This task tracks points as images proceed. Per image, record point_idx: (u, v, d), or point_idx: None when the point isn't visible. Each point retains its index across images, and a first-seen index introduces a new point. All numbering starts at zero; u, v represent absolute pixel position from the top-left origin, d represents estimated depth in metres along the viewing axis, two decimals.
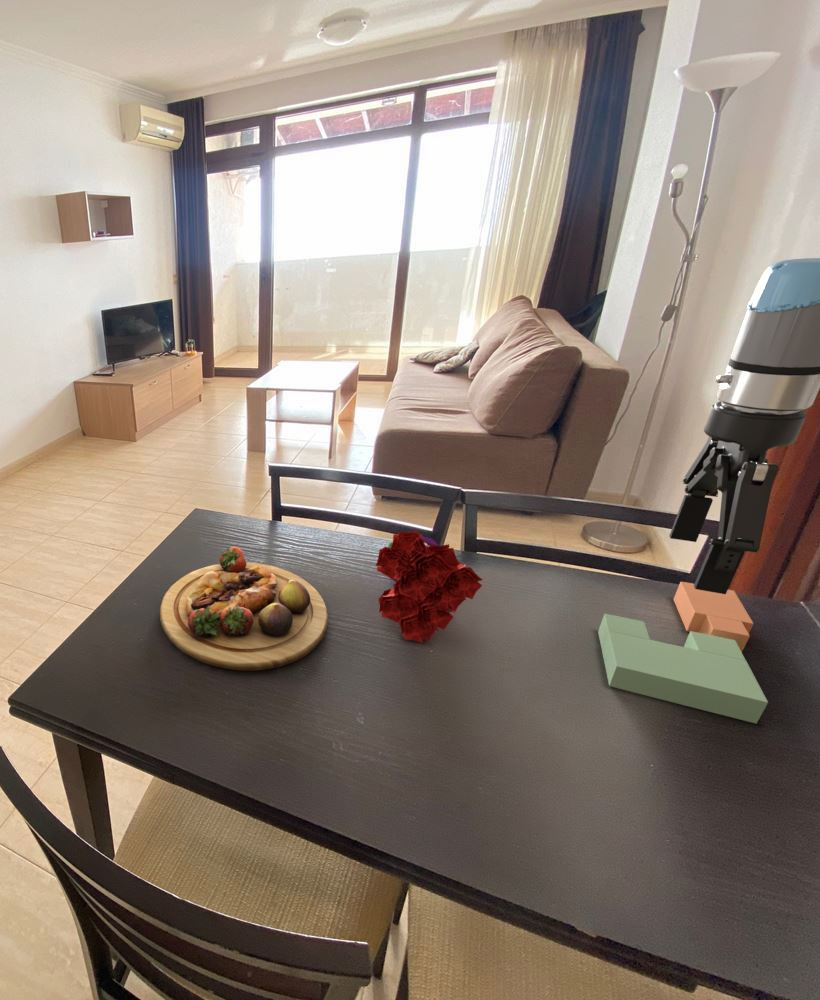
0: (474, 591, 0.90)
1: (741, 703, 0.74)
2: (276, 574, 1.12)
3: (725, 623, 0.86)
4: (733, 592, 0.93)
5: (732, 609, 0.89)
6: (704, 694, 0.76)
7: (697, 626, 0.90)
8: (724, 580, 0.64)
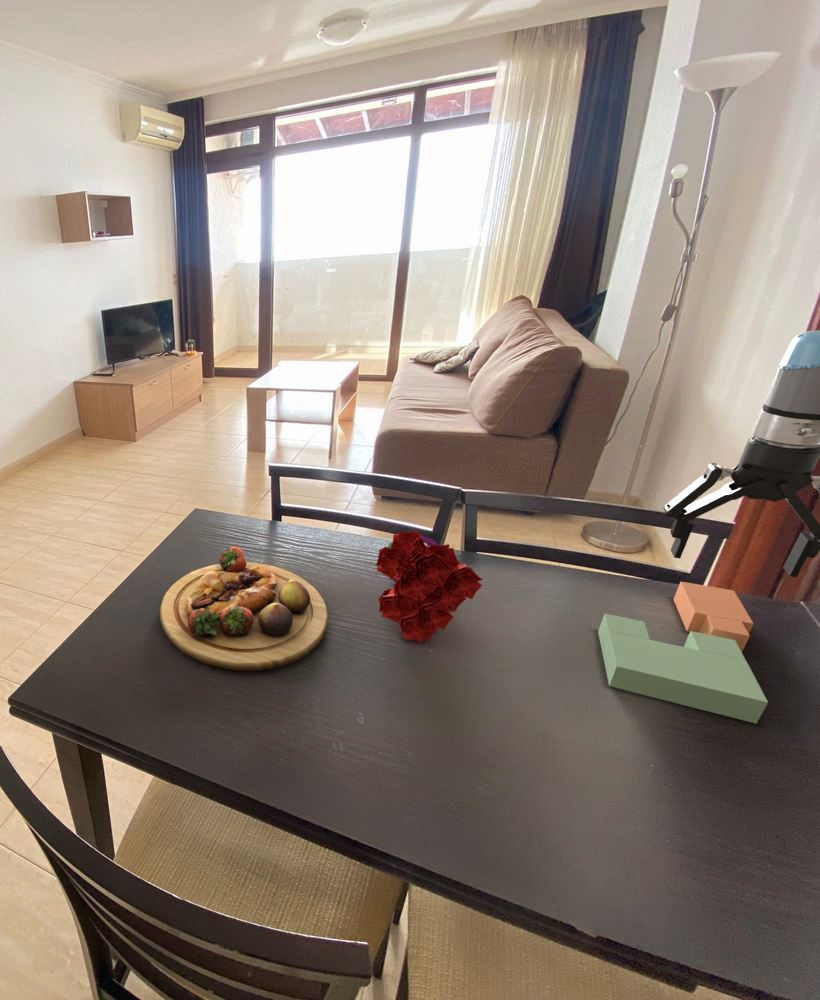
0: (474, 591, 0.90)
1: (741, 703, 0.74)
2: (276, 574, 1.12)
3: (725, 623, 0.86)
4: (733, 592, 0.93)
5: (732, 609, 0.89)
6: (704, 694, 0.76)
7: (697, 626, 0.90)
8: None
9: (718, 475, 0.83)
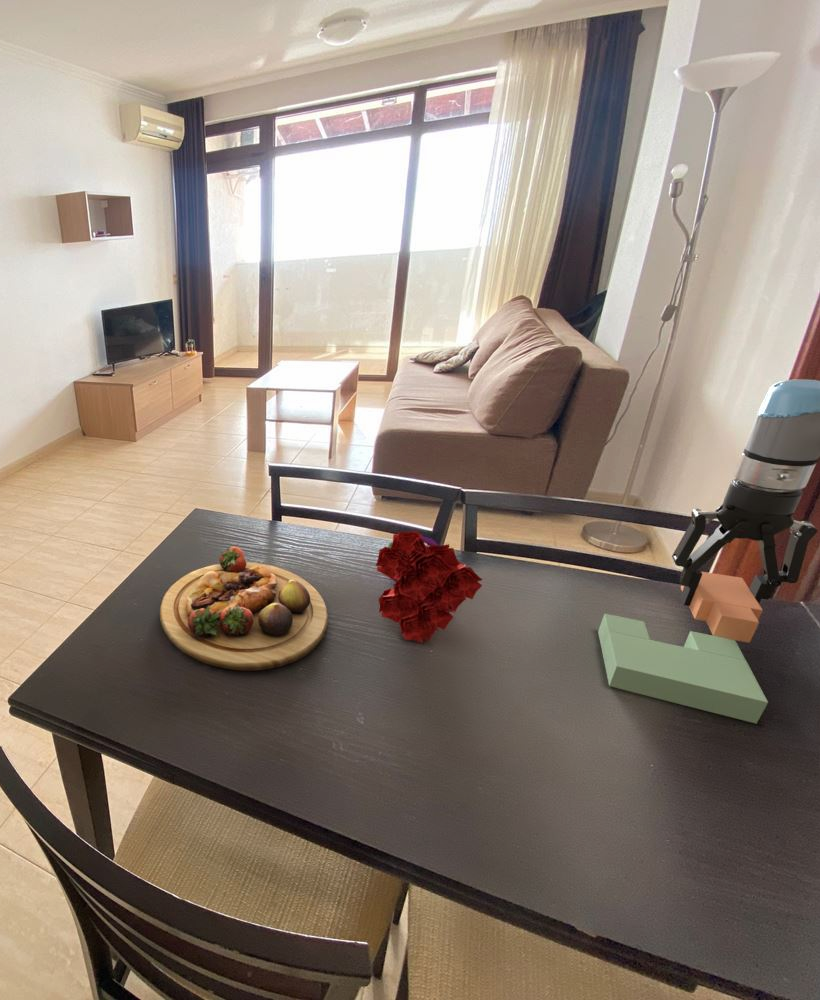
0: (474, 591, 0.90)
1: (741, 703, 0.74)
2: (276, 574, 1.12)
3: (734, 610, 0.85)
4: (741, 579, 0.92)
5: (741, 596, 0.88)
6: (704, 694, 0.76)
7: (705, 614, 0.89)
8: None
9: (703, 521, 0.87)
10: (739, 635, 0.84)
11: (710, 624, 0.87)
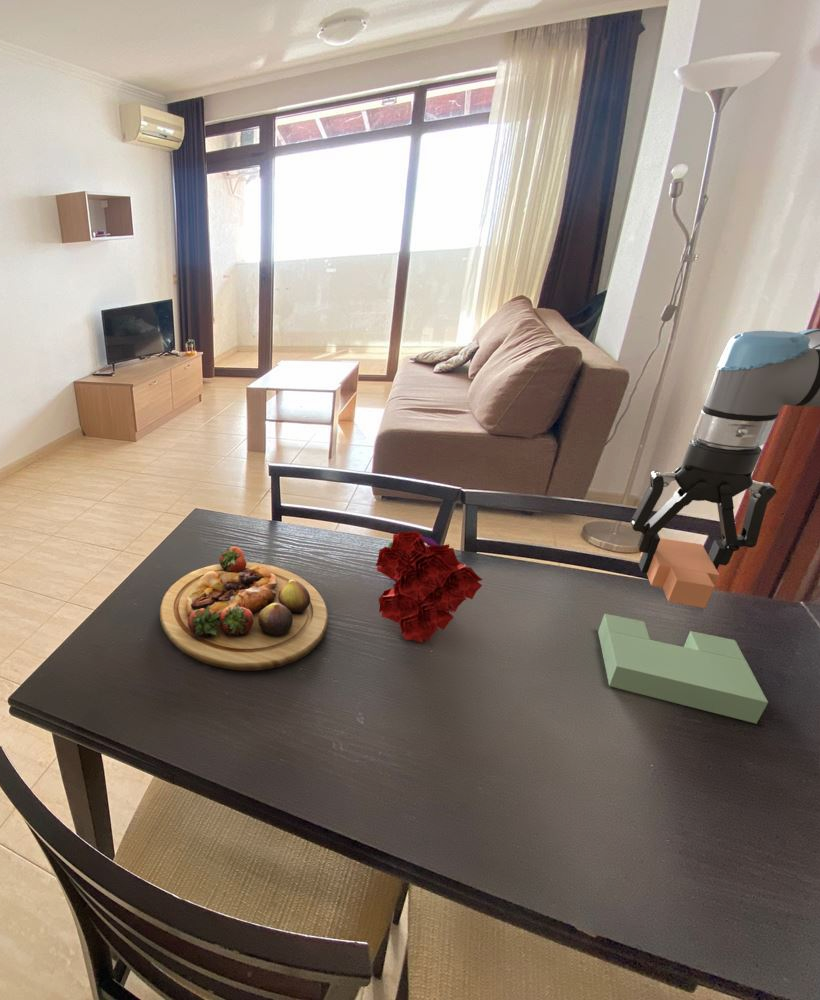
0: (474, 591, 0.90)
1: (741, 703, 0.74)
2: (276, 574, 1.12)
3: (690, 574, 0.82)
4: (701, 546, 0.88)
5: (699, 561, 0.85)
6: (704, 694, 0.76)
7: (661, 580, 0.85)
8: None
9: (661, 482, 0.83)
10: (694, 600, 0.81)
11: (666, 590, 0.84)
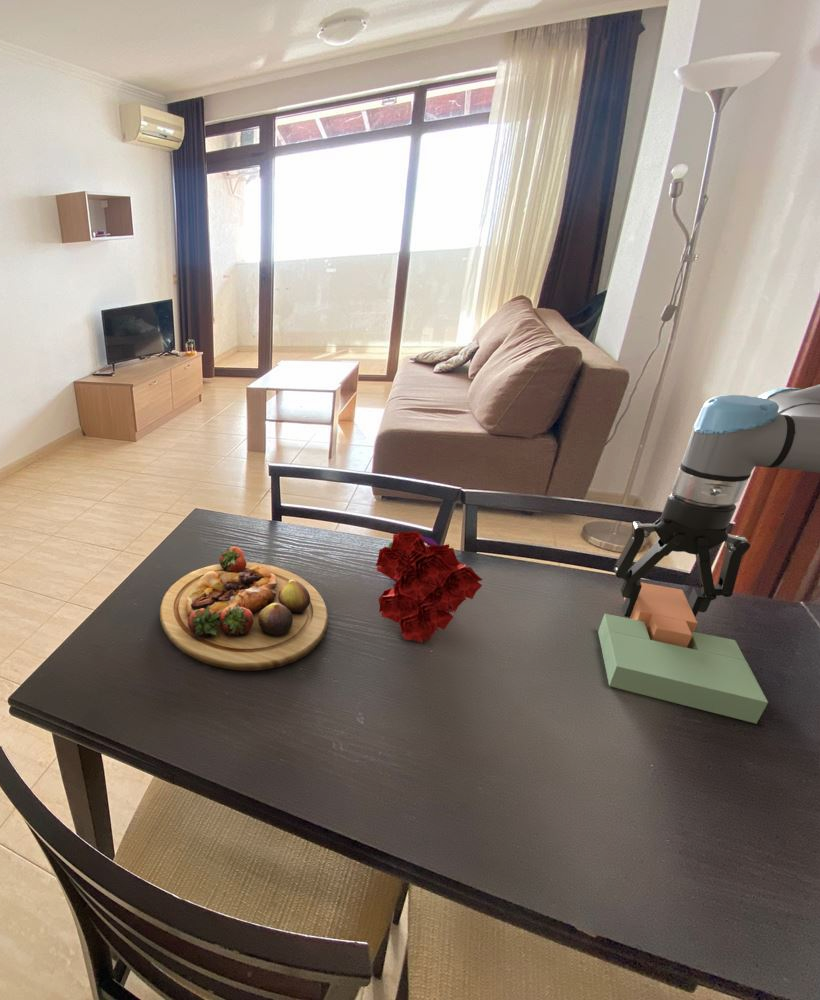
0: (474, 591, 0.90)
1: (741, 703, 0.74)
2: (276, 574, 1.12)
3: (669, 622, 0.85)
4: (681, 591, 0.92)
5: (678, 608, 0.88)
6: (704, 694, 0.76)
7: None
8: None
9: (642, 533, 0.87)
10: None
11: None
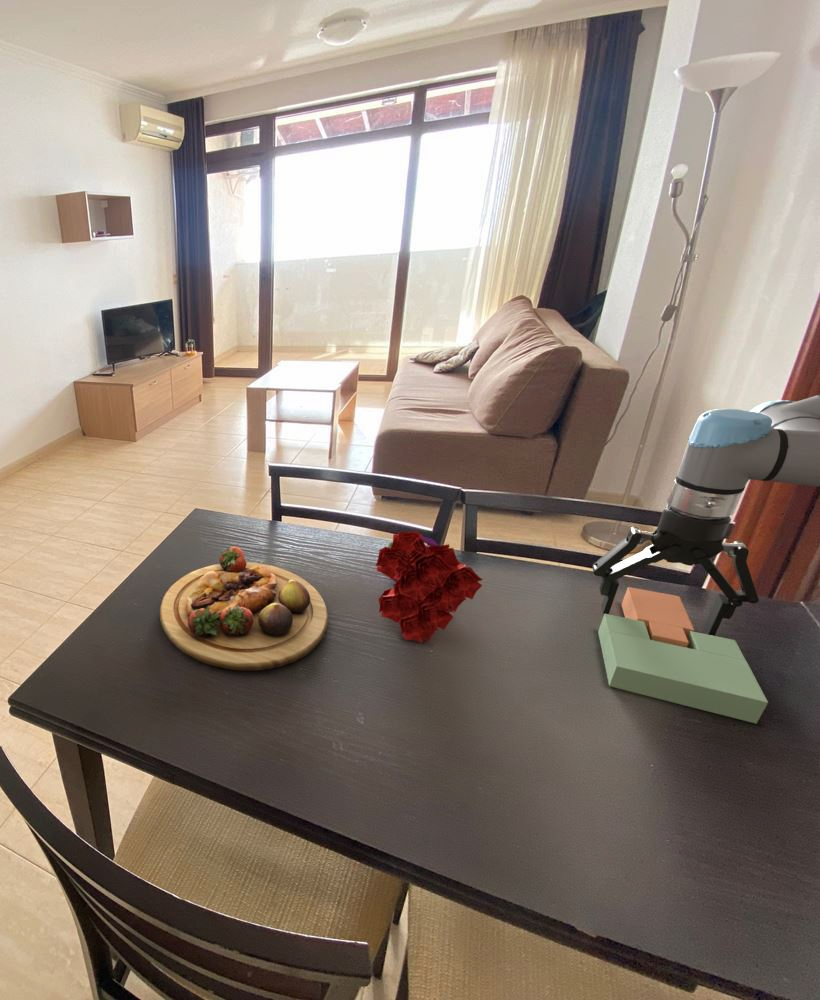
0: (474, 591, 0.90)
1: (741, 703, 0.74)
2: (276, 574, 1.12)
3: (666, 629, 0.86)
4: (678, 598, 0.93)
5: (675, 615, 0.89)
6: (704, 694, 0.76)
7: None
8: None
9: (638, 539, 0.88)
10: None
11: None
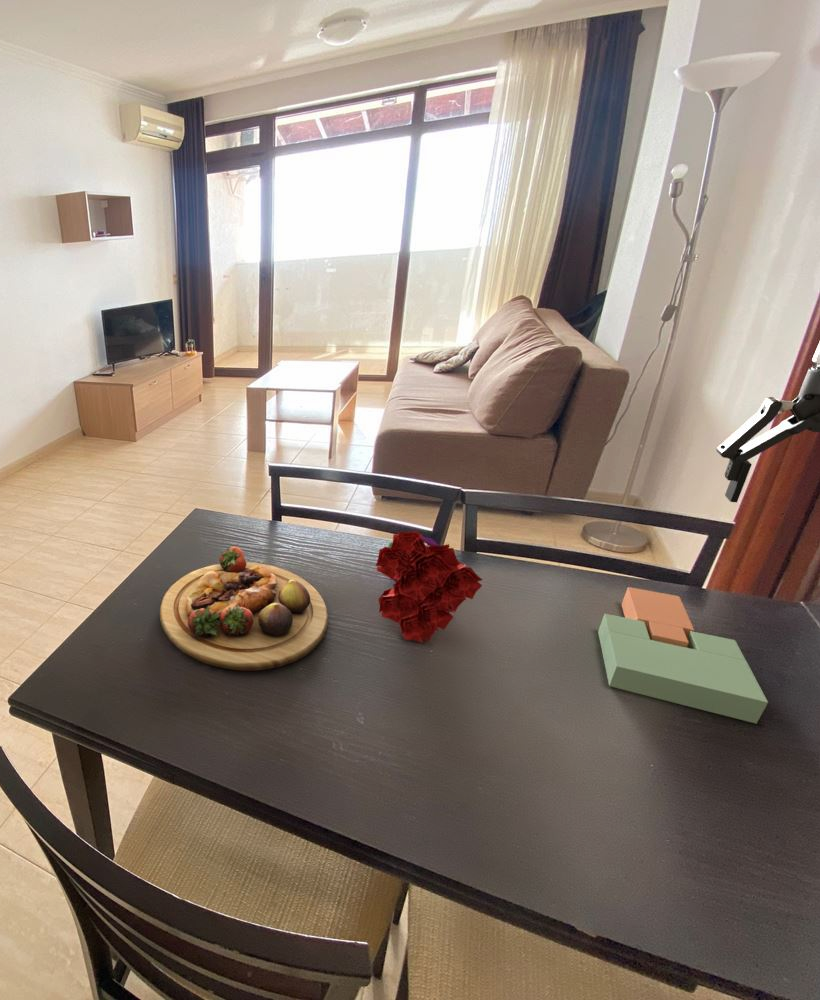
0: (474, 591, 0.90)
1: (741, 703, 0.74)
2: (276, 574, 1.12)
3: (666, 629, 0.86)
4: (678, 598, 0.93)
5: (675, 615, 0.89)
6: (704, 694, 0.76)
7: None
8: None
9: (777, 408, 0.79)
10: None
11: None
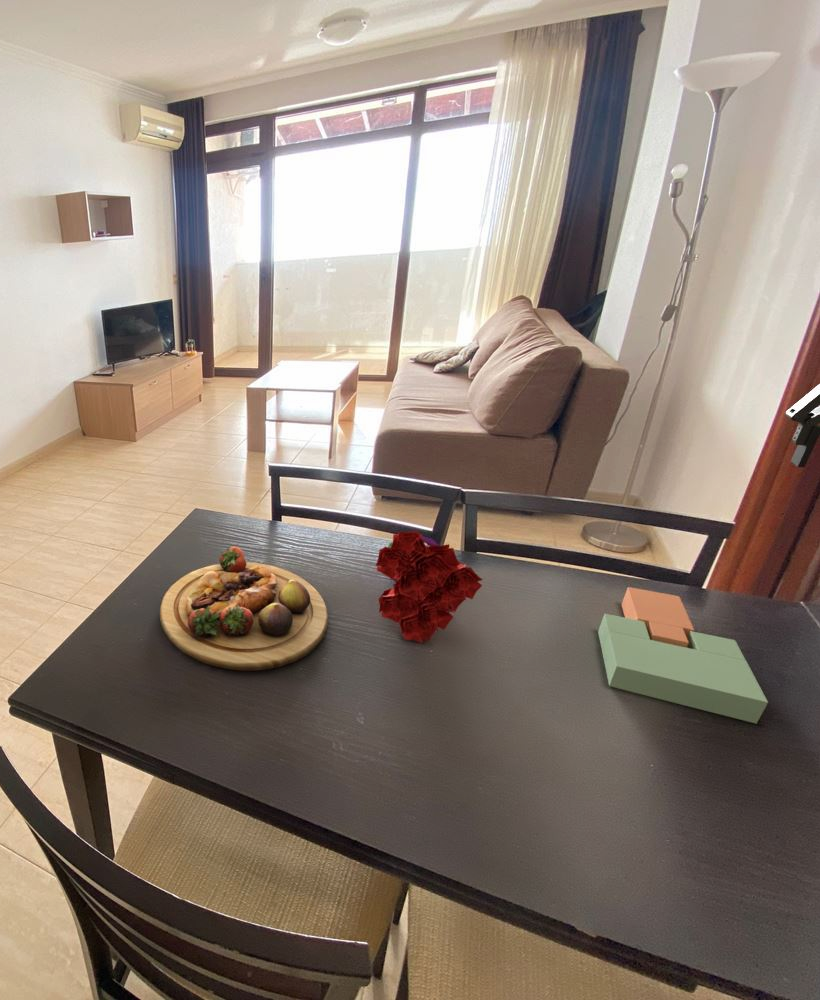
0: (474, 591, 0.90)
1: (741, 703, 0.74)
2: (276, 574, 1.12)
3: (666, 629, 0.86)
4: (678, 598, 0.93)
5: (675, 615, 0.89)
6: (704, 694, 0.76)
7: None
8: None
9: None
10: None
11: None
